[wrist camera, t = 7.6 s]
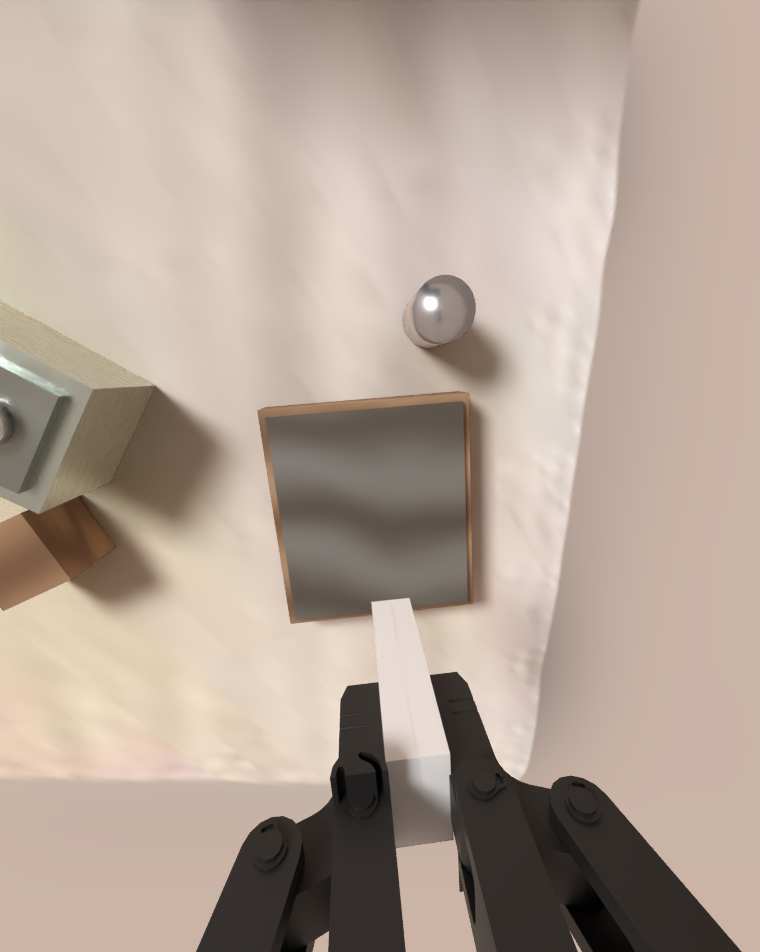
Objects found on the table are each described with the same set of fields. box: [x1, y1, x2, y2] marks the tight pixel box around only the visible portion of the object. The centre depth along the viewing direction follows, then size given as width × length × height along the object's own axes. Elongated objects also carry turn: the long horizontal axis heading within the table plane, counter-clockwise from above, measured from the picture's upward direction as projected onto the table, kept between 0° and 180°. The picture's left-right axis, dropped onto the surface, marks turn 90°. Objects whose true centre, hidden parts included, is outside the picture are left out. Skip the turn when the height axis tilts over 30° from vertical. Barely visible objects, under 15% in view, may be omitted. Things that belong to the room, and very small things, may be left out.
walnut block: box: [0, 496, 115, 611], centre depth 27 cm, size 5×5×5 cm
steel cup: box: [403, 275, 476, 348], centre depth 25 cm, size 4×4×5 cm
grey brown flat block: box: [258, 391, 473, 624], centre depth 29 cm, size 16×14×3 cm
